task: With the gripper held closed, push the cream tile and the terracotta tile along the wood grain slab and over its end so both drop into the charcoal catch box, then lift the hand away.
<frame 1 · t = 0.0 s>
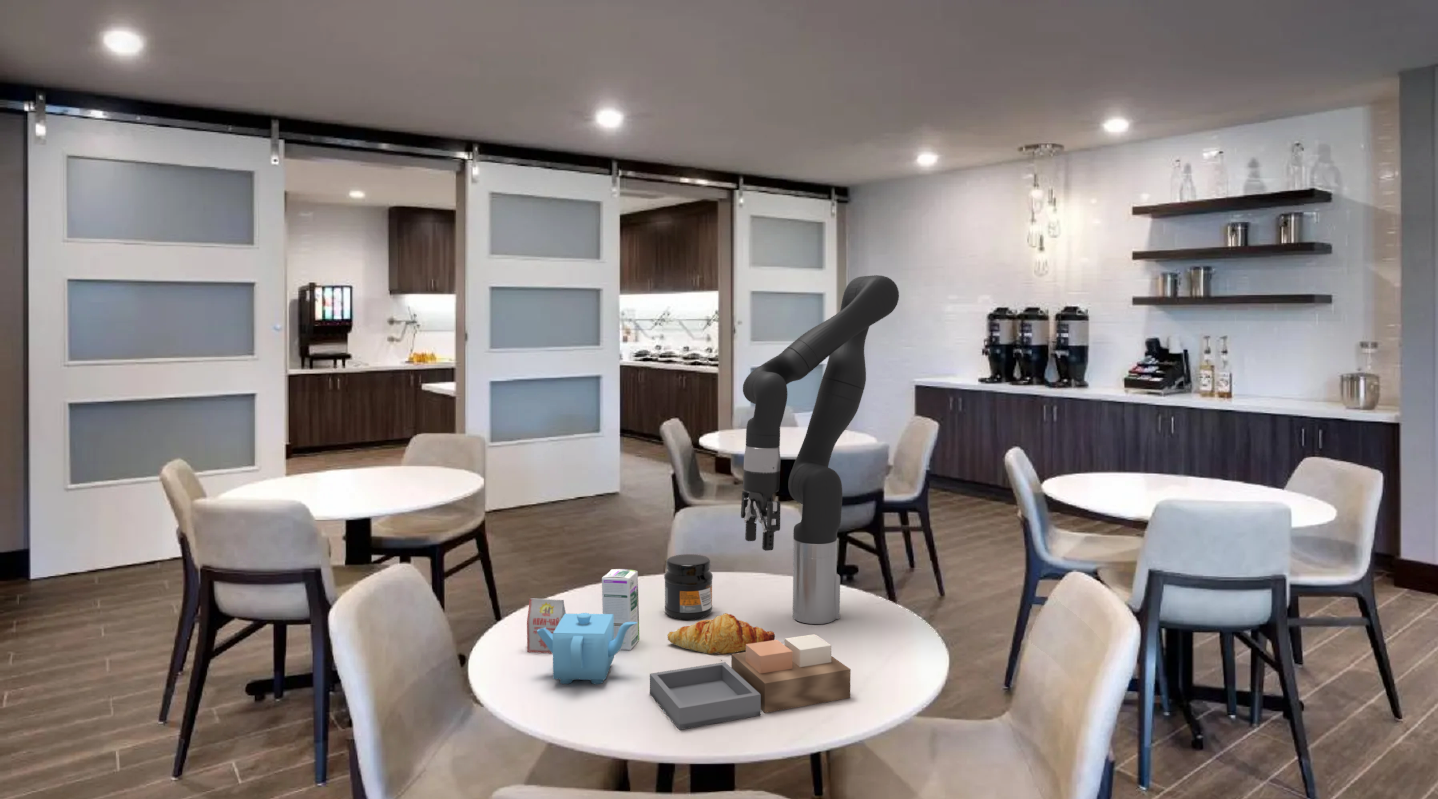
hand: (758, 545, 189), 17 cm above the table, tool pointing down, fingers open, 8 cm apart
cream tile: (807, 658, 159), point 5 cm above the table, touching wood grain slab
terracotta tile: (768, 664, 156), point 5 cm above the table, touching wood grain slab
supplement container: (688, 614, 199), on the table
tea bag: (547, 650, 177), on the table
teapot: (587, 677, 164), on the table
syrup box: (621, 645, 180), on the table
croissant: (720, 648, 179), on the table
wood grain slab: (789, 689, 158), on the table
catch box: (703, 704, 152), on the table
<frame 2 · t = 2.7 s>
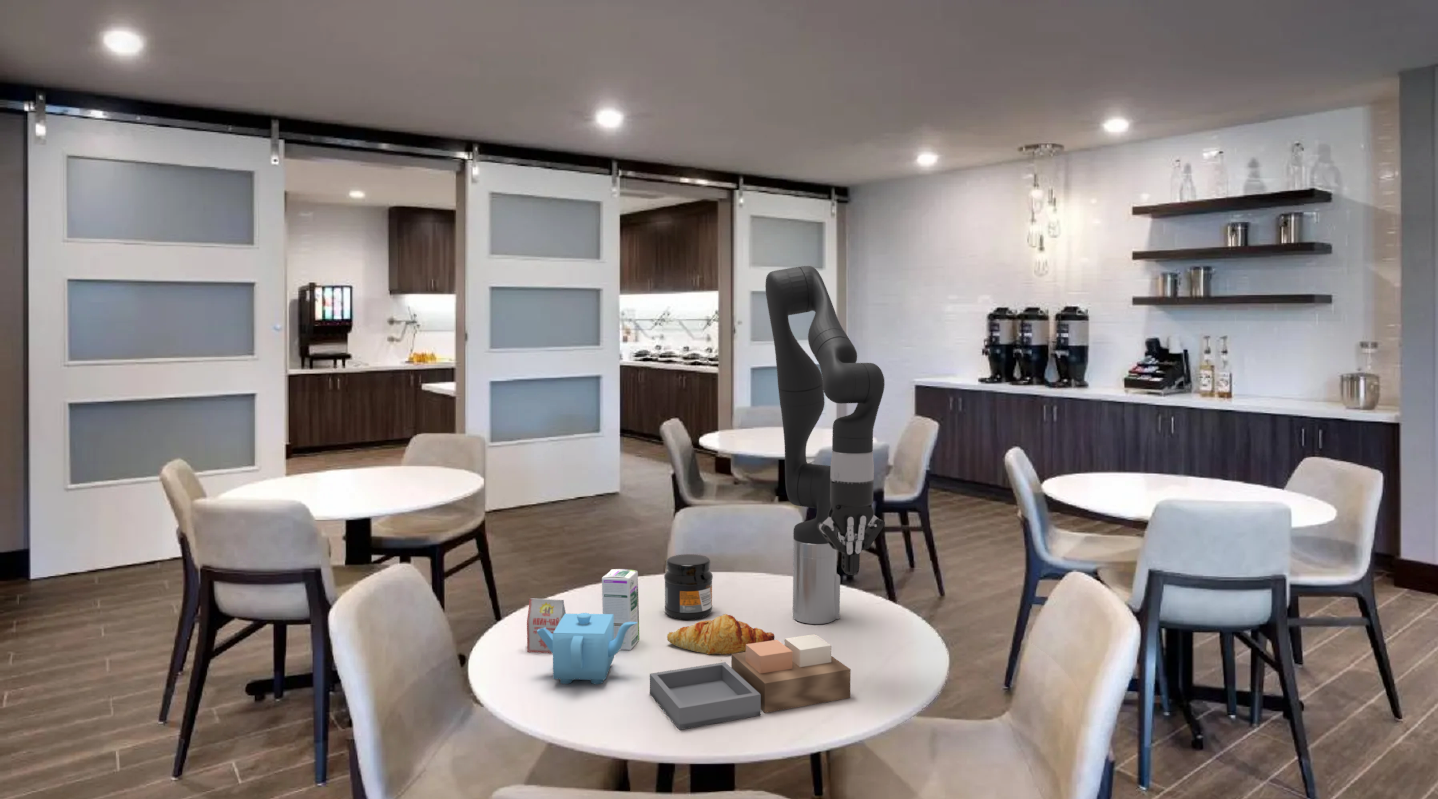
hand: (850, 573, 161), 19 cm above the table, tool pointing down, fingers closed
nothing on the table moved.
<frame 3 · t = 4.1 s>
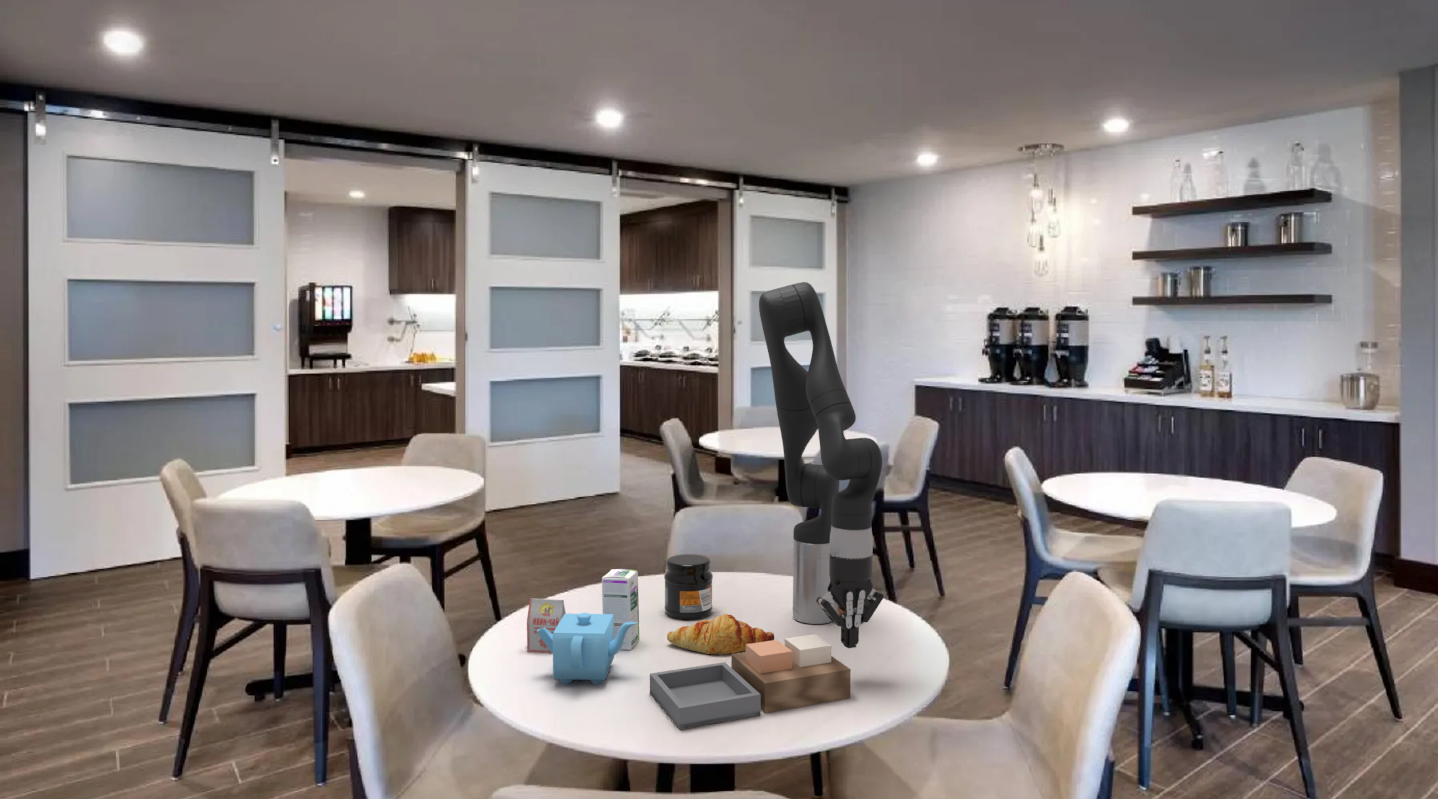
hand: (849, 646, 162), 6 cm above the table, tool pointing down, fingers closed
nothing on the table moved.
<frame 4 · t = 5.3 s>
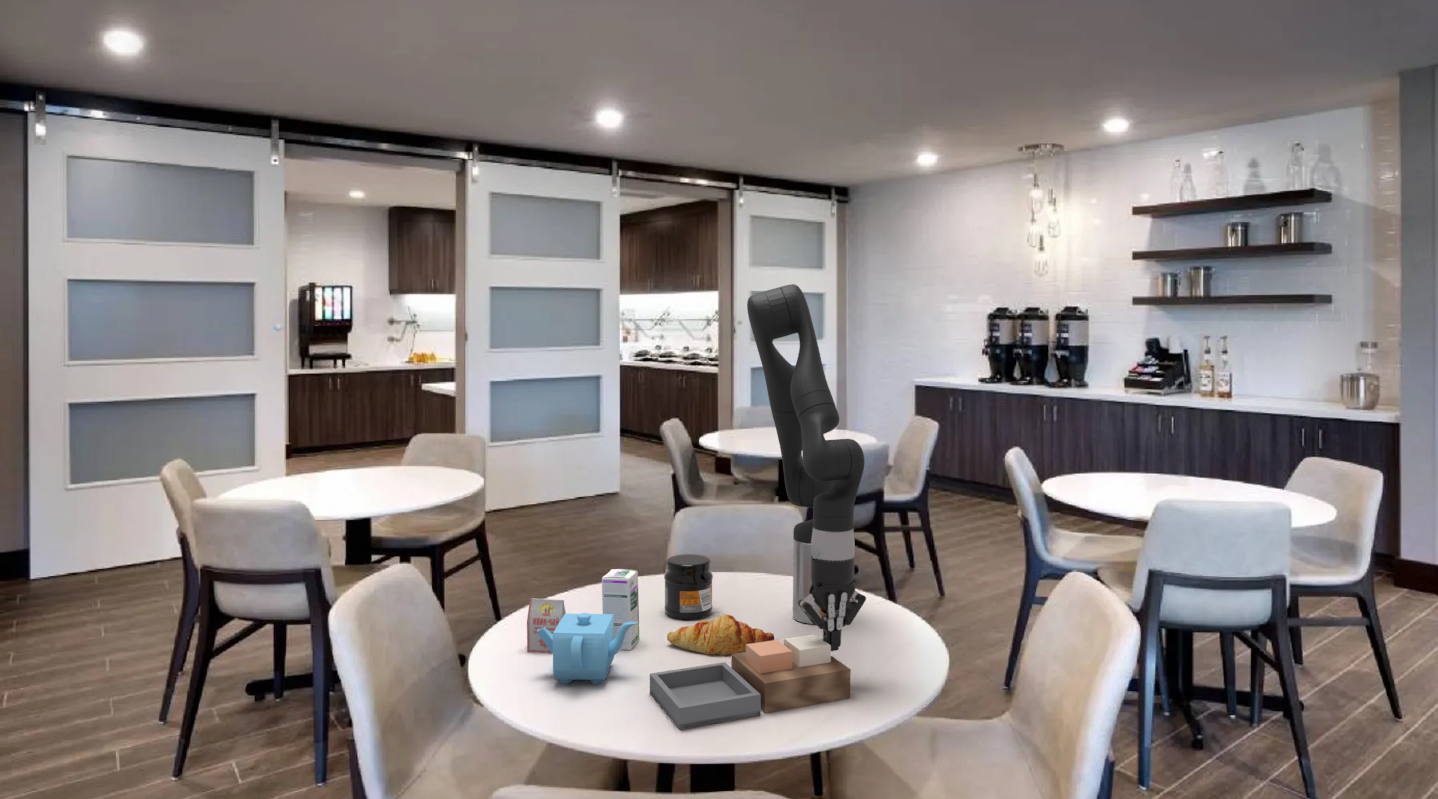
hand: (831, 649, 161), 6 cm above the table, tool pointing down, fingers closed
cream tile: (807, 658, 159), point 5 cm above the table, touching gripper, wood grain slab
everything else where it was.
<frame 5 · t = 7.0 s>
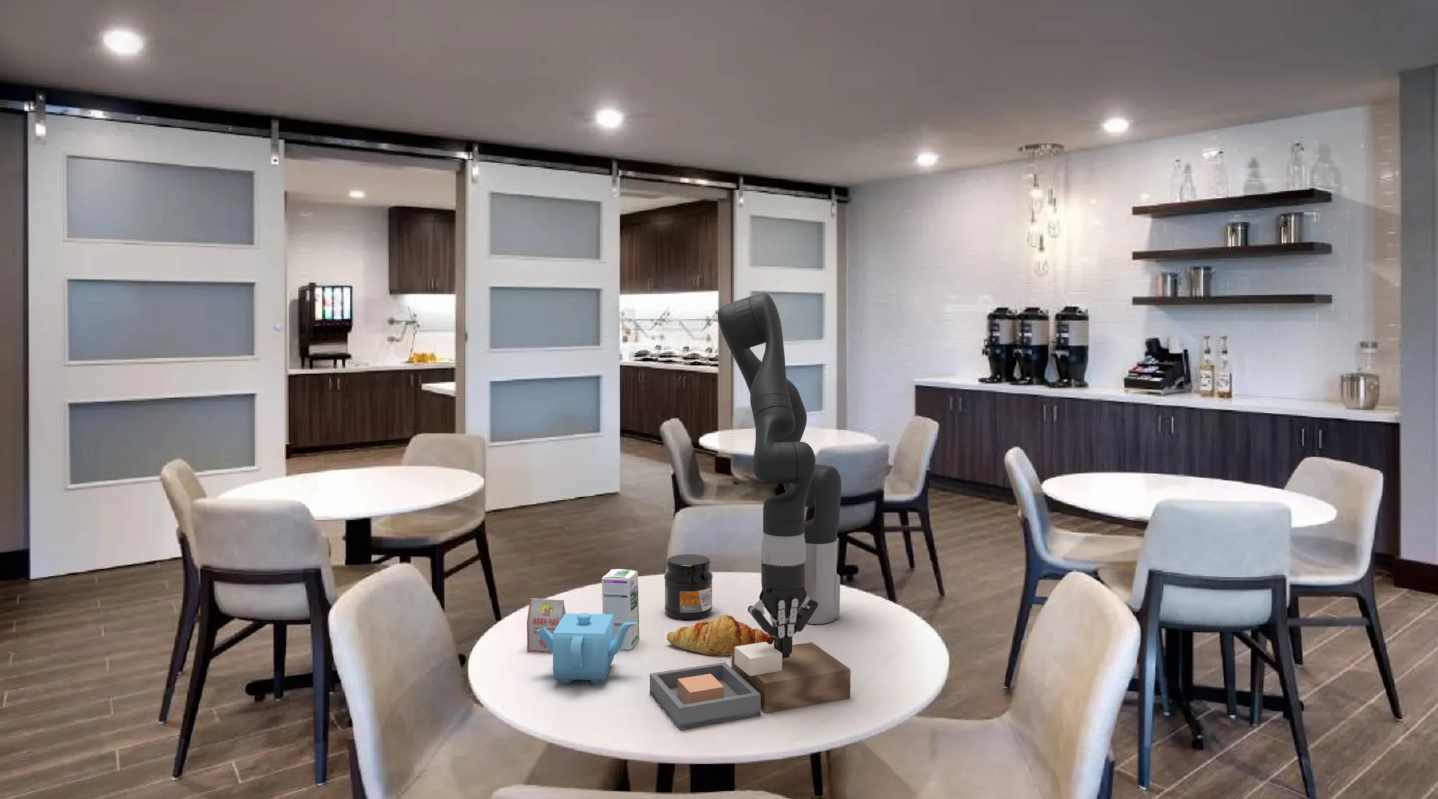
hand: (782, 656, 157), 6 cm above the table, tool pointing down, fingers closed
cream tile: (758, 667, 155), point 5 cm above the table, touching gripper
terracotta tile: (700, 682, 151), point 4 cm above the table, tilted 180°, touching catch box
everything else where it was.
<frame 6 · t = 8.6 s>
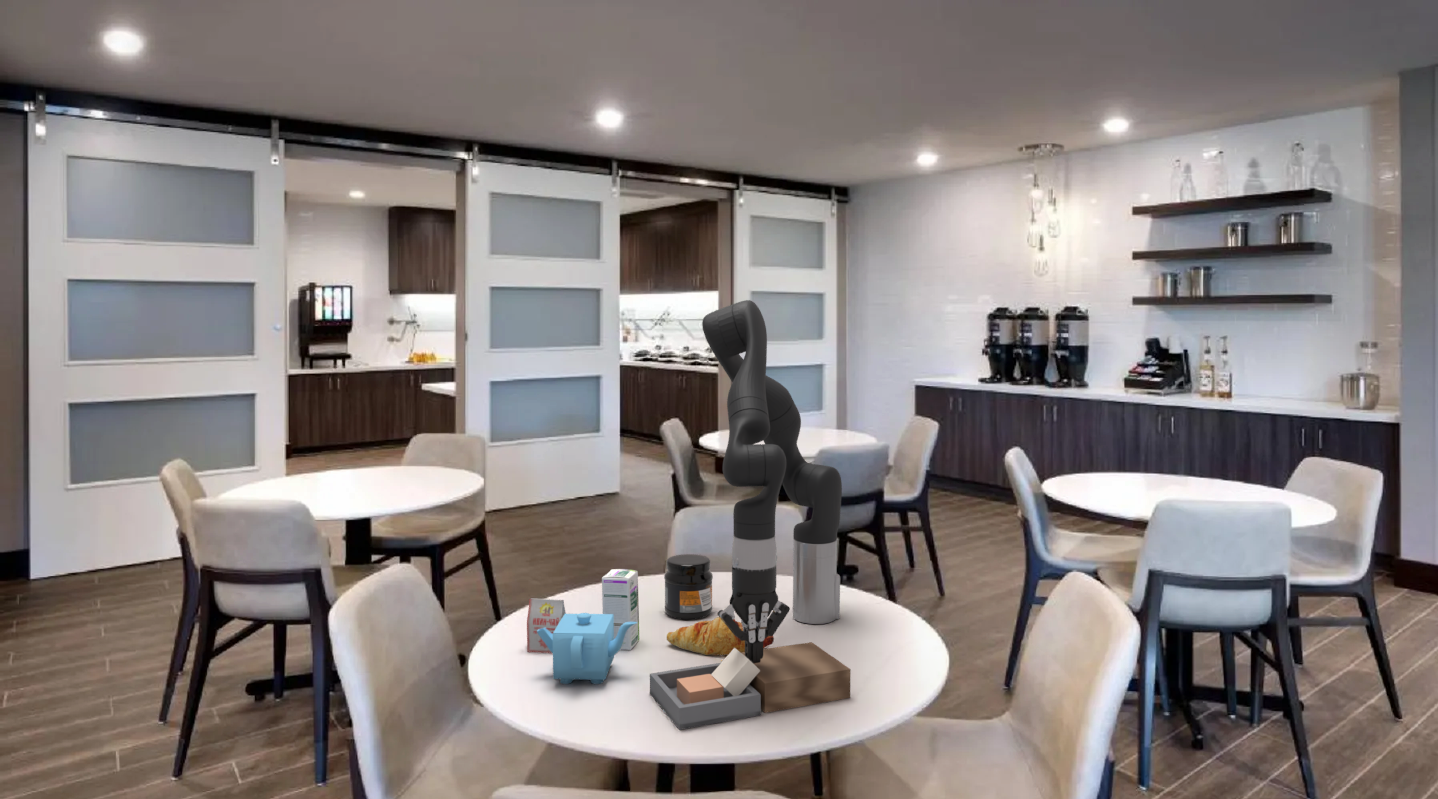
hand: (753, 661, 155), 6 cm above the table, tool pointing down, fingers closed
cream tile: (740, 678, 153), point 4 cm above the table, tilted 43°, touching catch box, gripper, terracotta tile
terracotta tile: (699, 682, 151), point 4 cm above the table, tilted 180°, touching catch box, cream tile
everything else where it was.
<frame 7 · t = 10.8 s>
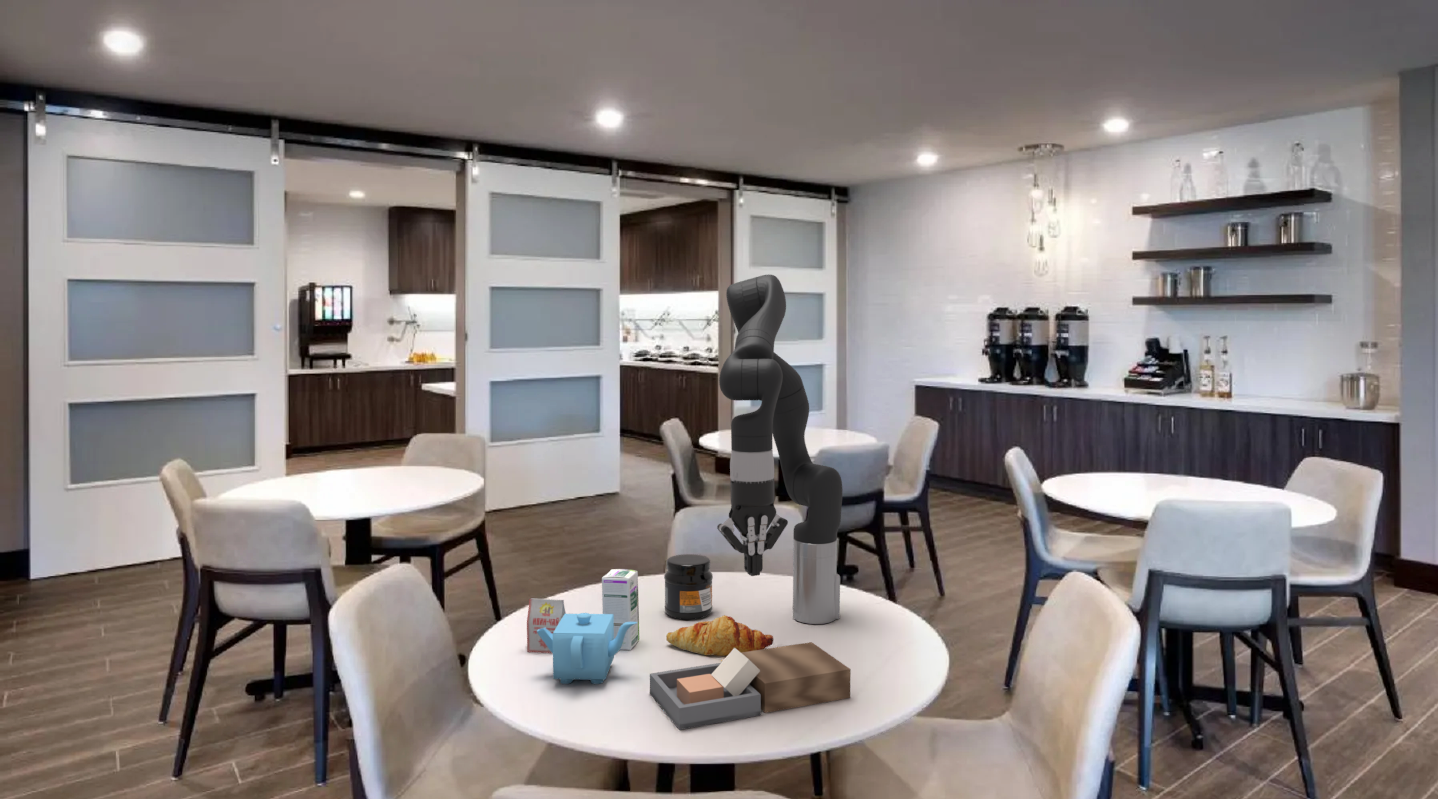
hand: (753, 574, 157), 20 cm above the table, tool pointing down, fingers closed
cream tile: (740, 678, 153), point 4 cm above the table, tilted 43°, touching catch box, terracotta tile
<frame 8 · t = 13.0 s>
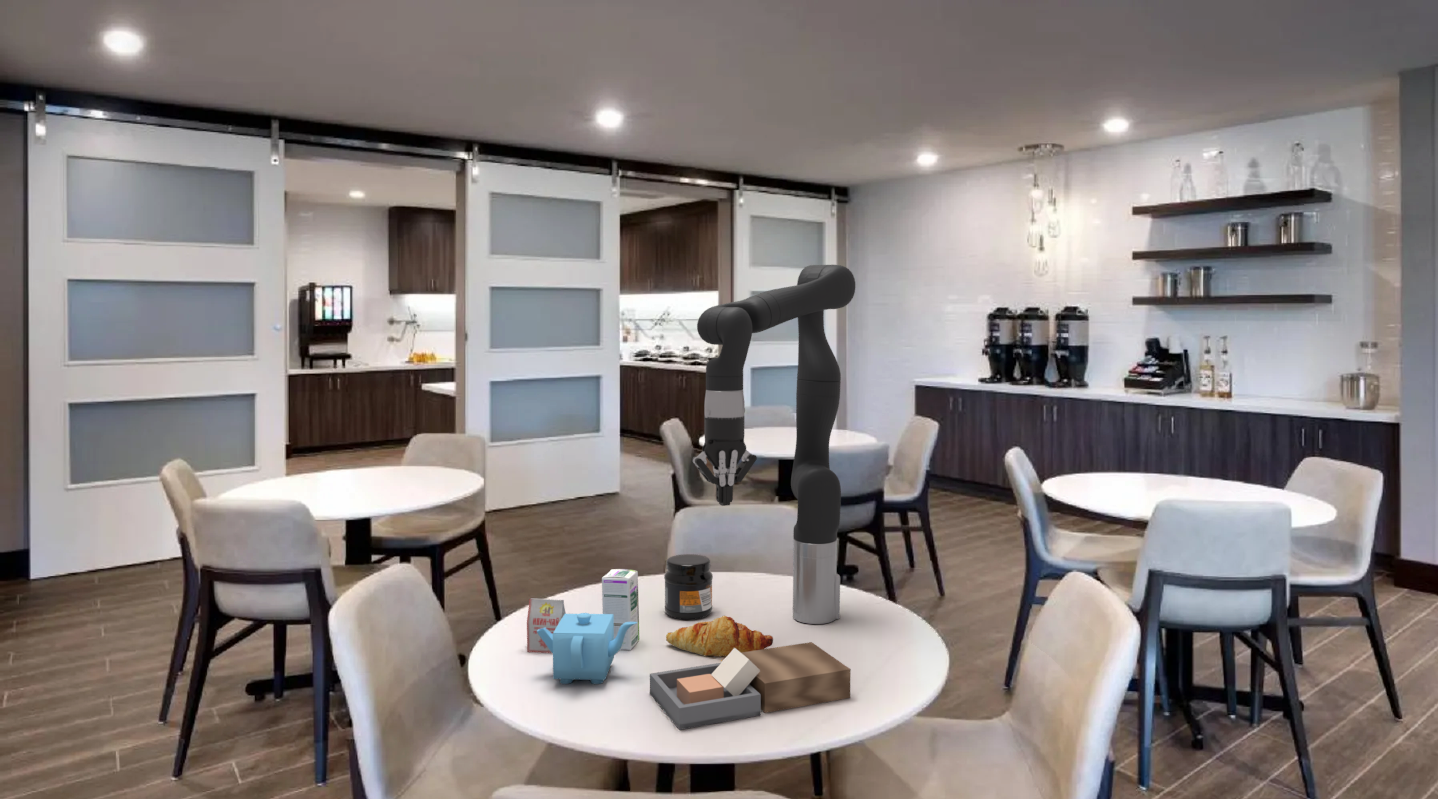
hand: (724, 504, 173), 29 cm above the table, tool pointing down, fingers closed
at the end: cream tile inside the target area on the catch box (6.5 cm from its centre), point 3.9 cm above the catch box's base; terracotta tile inside the target area on the catch box (0.7 cm from its centre), point 3.8 cm above the catch box's base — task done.
